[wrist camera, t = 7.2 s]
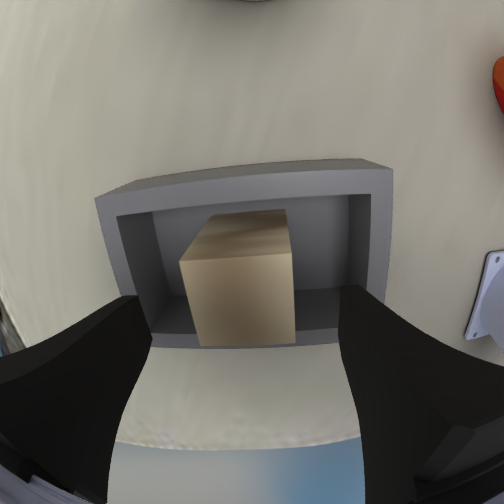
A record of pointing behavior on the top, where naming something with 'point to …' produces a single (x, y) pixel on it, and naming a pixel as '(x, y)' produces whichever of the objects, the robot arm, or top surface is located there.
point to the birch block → (241, 280)
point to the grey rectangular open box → (244, 200)
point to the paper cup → (499, 81)
